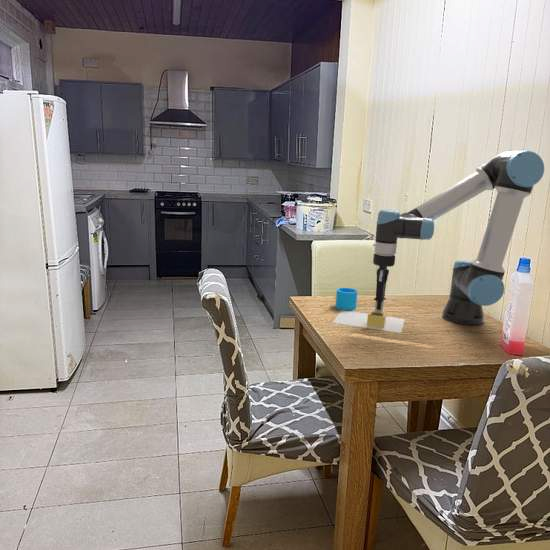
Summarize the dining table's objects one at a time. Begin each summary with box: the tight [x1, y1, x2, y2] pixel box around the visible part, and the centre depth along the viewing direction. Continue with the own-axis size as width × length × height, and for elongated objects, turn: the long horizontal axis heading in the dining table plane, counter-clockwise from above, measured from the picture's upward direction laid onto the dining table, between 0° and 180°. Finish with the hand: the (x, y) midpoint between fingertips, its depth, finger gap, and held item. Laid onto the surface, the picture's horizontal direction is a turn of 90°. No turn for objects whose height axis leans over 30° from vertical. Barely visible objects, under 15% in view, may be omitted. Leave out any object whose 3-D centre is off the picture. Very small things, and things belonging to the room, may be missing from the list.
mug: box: [335, 287, 358, 311], centre depth 203 cm, size 12×8×8 cm
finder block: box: [367, 310, 388, 328], centre depth 182 cm, size 6×6×4 cm
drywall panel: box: [332, 309, 405, 334], centre depth 186 cm, size 30×17×1 cm, turn 72°
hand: (378, 317), depth 185 cm, fingers closed
